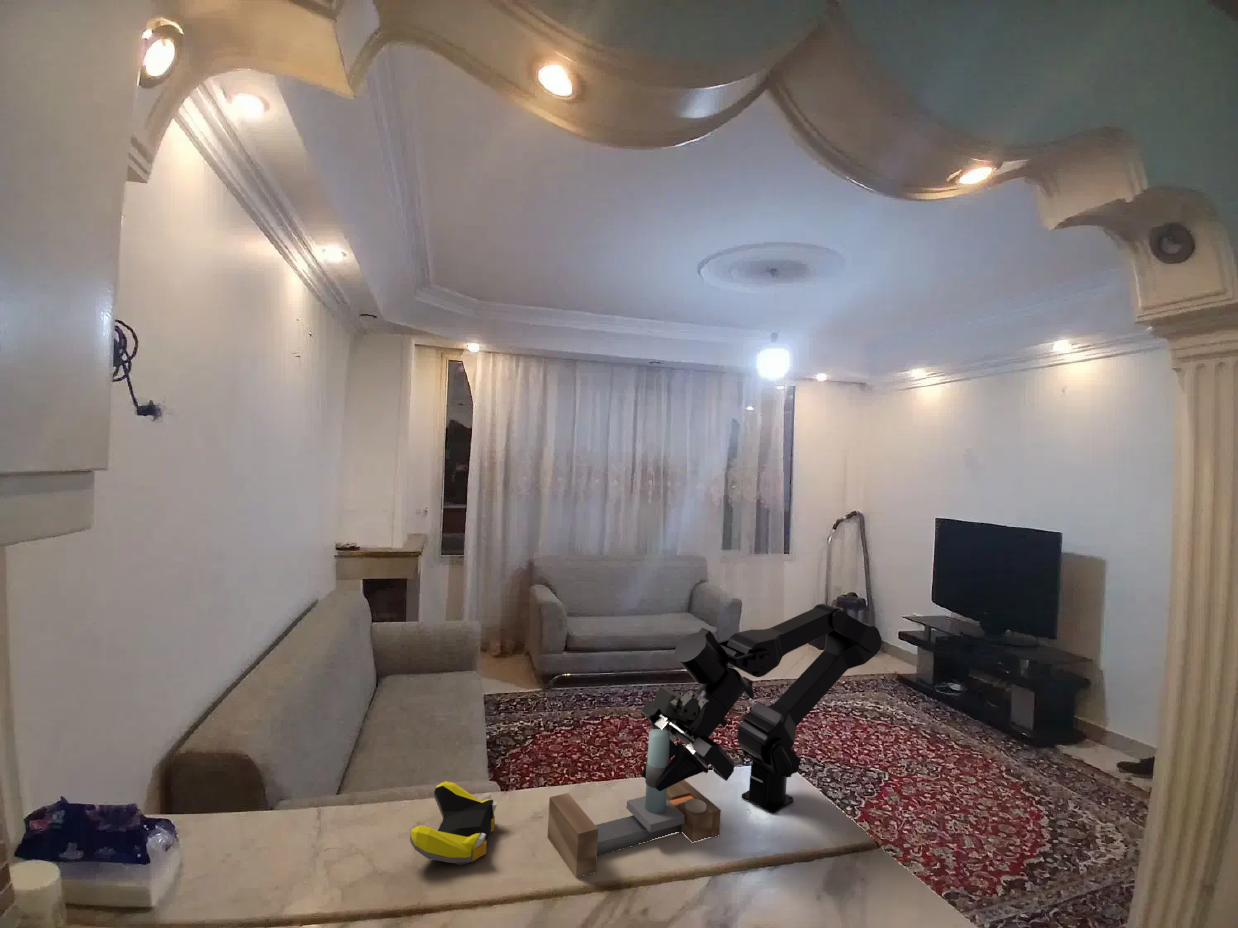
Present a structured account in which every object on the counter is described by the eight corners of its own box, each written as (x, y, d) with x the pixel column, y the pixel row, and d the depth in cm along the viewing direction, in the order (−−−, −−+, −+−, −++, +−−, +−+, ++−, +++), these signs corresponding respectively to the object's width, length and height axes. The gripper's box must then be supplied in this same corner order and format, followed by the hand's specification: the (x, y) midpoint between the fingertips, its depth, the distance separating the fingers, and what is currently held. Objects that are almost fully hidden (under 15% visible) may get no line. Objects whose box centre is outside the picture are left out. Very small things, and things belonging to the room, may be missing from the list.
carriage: (659, 799, 103) (663, 721, 102) (684, 823, 96) (689, 739, 96) (626, 808, 100) (631, 727, 100) (650, 832, 94) (655, 746, 93)
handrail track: (687, 813, 104) (688, 801, 103) (702, 826, 100) (703, 813, 100) (561, 846, 93) (562, 833, 93) (573, 862, 89) (574, 848, 89)
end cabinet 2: (682, 802, 107) (683, 775, 107) (719, 835, 98) (721, 806, 98) (656, 809, 104) (658, 781, 104) (692, 843, 95) (694, 813, 95)
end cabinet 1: (566, 832, 97) (568, 792, 96) (595, 872, 88) (598, 828, 88) (547, 837, 95) (549, 796, 95) (575, 877, 86) (578, 833, 86)
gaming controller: (403, 874, 85) (478, 878, 85) (405, 833, 85) (480, 837, 85) (436, 811, 100) (500, 815, 100) (438, 776, 100) (502, 780, 100)
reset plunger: (690, 804, 102) (690, 795, 102) (695, 808, 101) (695, 799, 101) (668, 809, 100) (669, 800, 100) (673, 814, 99) (674, 805, 99)
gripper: (653, 651, 108) (591, 726, 103) (723, 690, 92) (652, 782, 86) (689, 692, 112) (631, 766, 107) (762, 736, 95) (697, 826, 90)
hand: (650, 783), depth 97 cm, fingers closed on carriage, 3 cm apart
